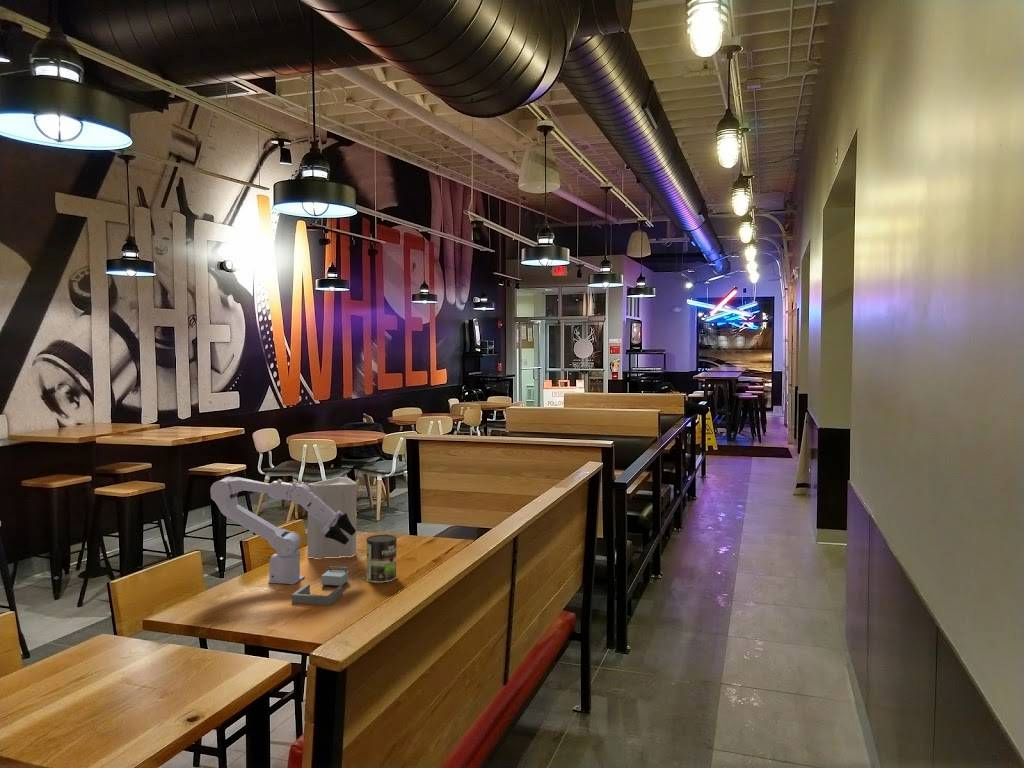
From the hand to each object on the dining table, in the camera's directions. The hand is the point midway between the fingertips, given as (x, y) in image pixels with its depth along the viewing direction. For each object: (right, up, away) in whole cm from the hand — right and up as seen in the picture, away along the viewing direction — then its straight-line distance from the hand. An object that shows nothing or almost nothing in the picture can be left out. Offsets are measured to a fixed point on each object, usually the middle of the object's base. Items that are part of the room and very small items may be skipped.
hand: (350, 537), depth 235 cm
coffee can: (+10, -15, +3) cm, 18 cm away
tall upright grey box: (-12, -14, +31) cm, 36 cm away
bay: (-6, -15, -17) cm, 24 cm away
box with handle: (-4, -15, -4) cm, 16 cm away
